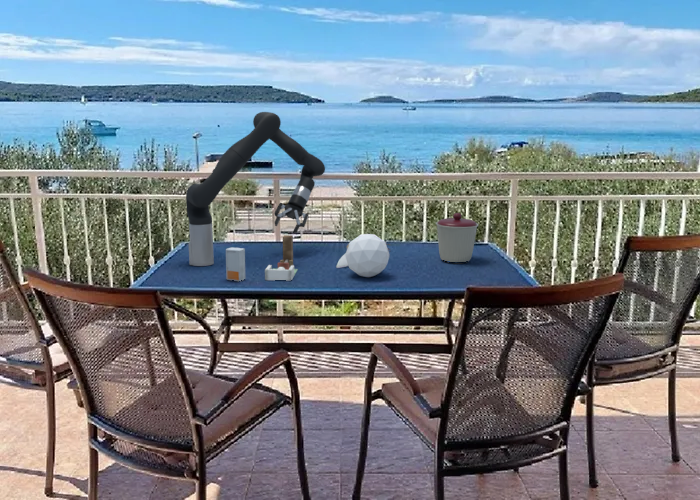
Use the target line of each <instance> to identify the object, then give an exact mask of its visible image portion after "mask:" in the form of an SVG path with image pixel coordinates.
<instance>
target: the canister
mask: <svg viewBox="0 0 700 500" xmlns="http://www.w3.org/2000/svg"><path fill="white" fill-rule="evenodd" d="M462 216H463V215H462V213H461V212H455V213H454V214H453V217H452V218H451V217H450V218H449V217H447V218H442V219H439V220H438V221H436V222H435V225H436V228H437V241H438V243H437V244H438V254H439V257H440V260H442V261H443V260H445V261H450V262H466V261H468V262H469V261H470V260H471V259H472V257H473V251H474V247H475V241H476V235H477V229H478V227H479V223H477V222H476V221H475V220H472V219H468V218H463V217H462ZM445 261H444V262H445ZM466 263H467V262H466Z"/></svg>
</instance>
